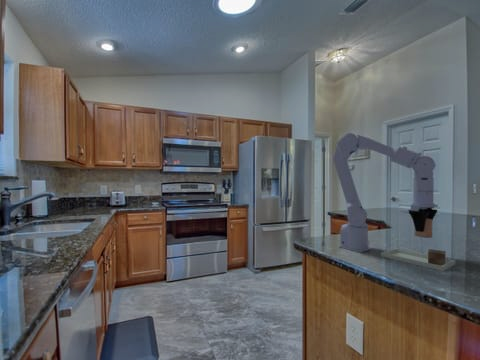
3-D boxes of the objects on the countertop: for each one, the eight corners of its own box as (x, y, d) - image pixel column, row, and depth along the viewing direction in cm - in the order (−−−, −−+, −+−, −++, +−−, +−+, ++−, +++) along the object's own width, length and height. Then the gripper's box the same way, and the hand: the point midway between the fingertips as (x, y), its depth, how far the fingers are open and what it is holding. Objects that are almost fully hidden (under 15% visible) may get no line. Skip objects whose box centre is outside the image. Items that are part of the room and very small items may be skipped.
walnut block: (428, 264, 78) (428, 251, 78) (429, 261, 81) (429, 249, 81) (444, 267, 76) (445, 254, 76) (445, 264, 79) (445, 251, 79)
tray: (380, 258, 87) (380, 252, 87) (395, 253, 93) (395, 248, 93) (443, 273, 73) (443, 266, 73) (455, 266, 79) (455, 260, 79)
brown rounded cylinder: (412, 235, 90) (412, 218, 90) (417, 233, 93) (418, 217, 93) (429, 238, 86) (429, 220, 86) (434, 236, 89) (434, 219, 89)
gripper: (428, 192, 82) (428, 235, 82) (444, 191, 90) (444, 229, 90) (404, 191, 88) (403, 231, 88) (421, 190, 96) (421, 226, 96)
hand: (422, 230), depth 89 cm, fingers closed on brown rounded cylinder, 5 cm apart
